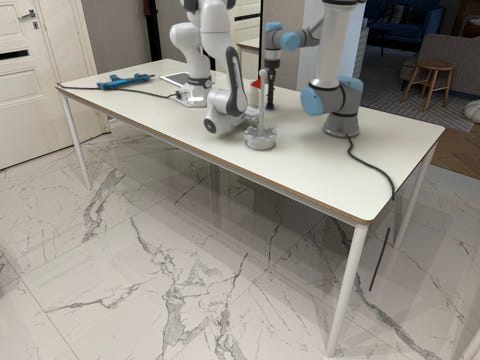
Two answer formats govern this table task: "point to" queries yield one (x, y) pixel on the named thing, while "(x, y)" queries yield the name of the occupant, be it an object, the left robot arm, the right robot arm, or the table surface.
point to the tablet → (177, 78)
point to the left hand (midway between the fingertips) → (253, 106)
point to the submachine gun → (124, 81)
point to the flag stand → (260, 122)
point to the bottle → (253, 95)
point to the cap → (269, 108)
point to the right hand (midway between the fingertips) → (270, 105)
